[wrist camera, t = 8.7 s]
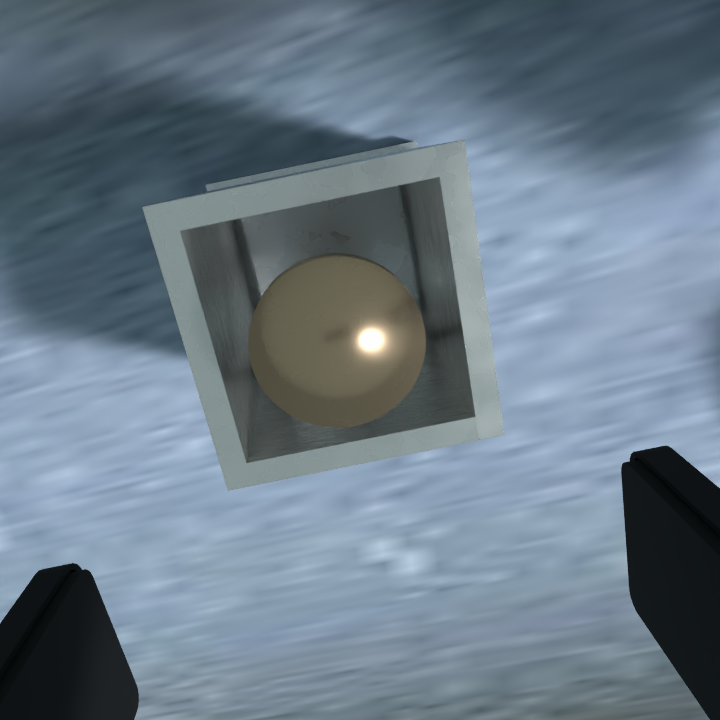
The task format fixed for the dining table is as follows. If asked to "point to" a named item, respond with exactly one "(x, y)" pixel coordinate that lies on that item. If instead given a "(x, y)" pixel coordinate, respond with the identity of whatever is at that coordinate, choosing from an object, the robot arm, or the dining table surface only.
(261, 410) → the white open square box
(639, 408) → the dining table surface
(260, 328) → the plunger
